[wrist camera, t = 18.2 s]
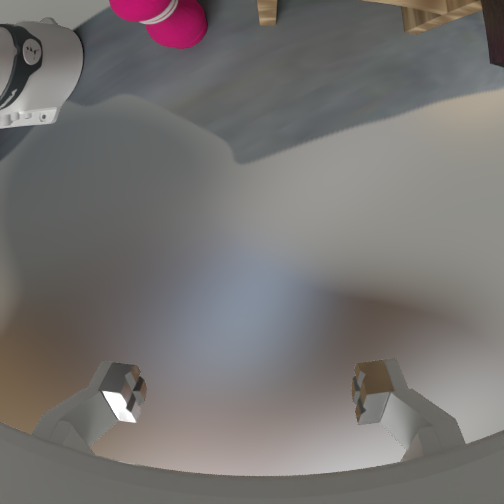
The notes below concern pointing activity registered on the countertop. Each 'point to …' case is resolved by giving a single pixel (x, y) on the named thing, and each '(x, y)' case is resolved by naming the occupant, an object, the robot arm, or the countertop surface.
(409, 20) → the shelf stand
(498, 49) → the dark gray plank
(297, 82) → the countertop surface
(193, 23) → the pepper mill
